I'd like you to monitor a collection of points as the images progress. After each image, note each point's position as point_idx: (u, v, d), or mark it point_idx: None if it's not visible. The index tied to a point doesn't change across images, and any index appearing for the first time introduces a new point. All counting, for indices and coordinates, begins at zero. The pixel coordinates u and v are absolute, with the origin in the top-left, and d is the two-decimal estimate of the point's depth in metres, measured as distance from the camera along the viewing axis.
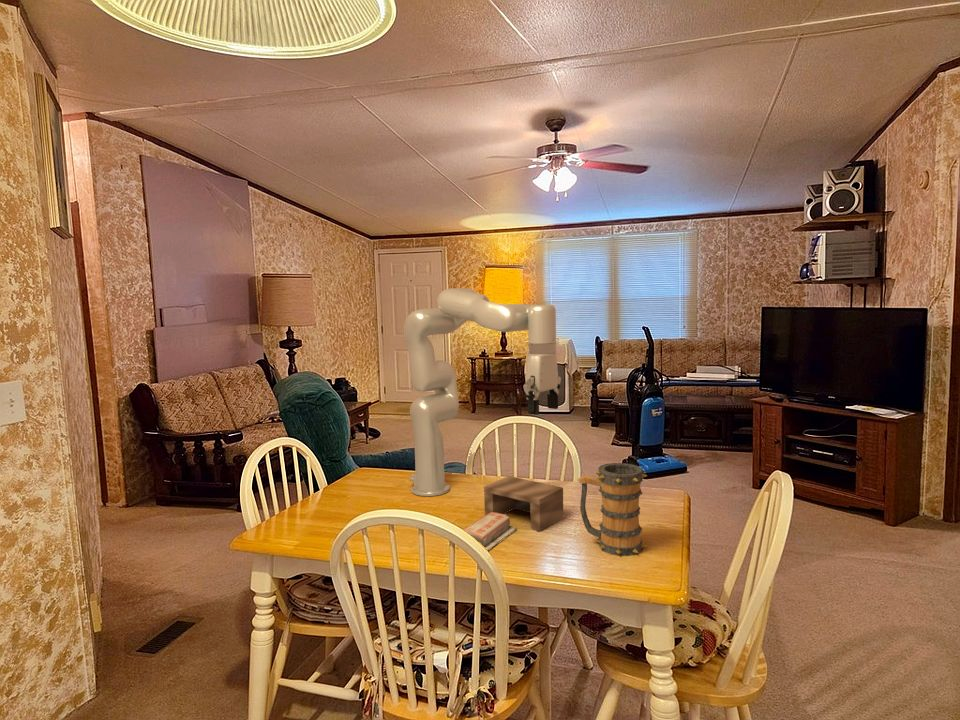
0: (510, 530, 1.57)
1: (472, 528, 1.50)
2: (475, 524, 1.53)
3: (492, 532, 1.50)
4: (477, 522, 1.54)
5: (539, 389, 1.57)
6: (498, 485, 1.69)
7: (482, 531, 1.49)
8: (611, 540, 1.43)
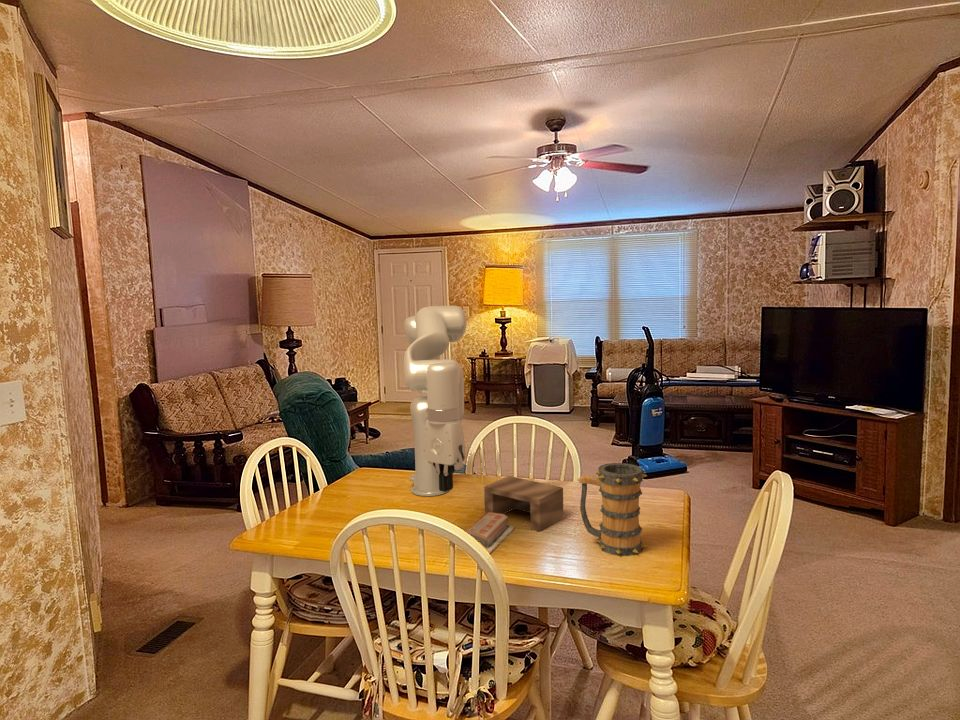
0: (509, 529, 1.58)
1: (474, 529, 1.50)
2: (476, 525, 1.52)
3: (494, 532, 1.50)
4: (477, 523, 1.54)
5: None
6: (498, 485, 1.69)
7: (485, 531, 1.49)
8: (611, 540, 1.43)
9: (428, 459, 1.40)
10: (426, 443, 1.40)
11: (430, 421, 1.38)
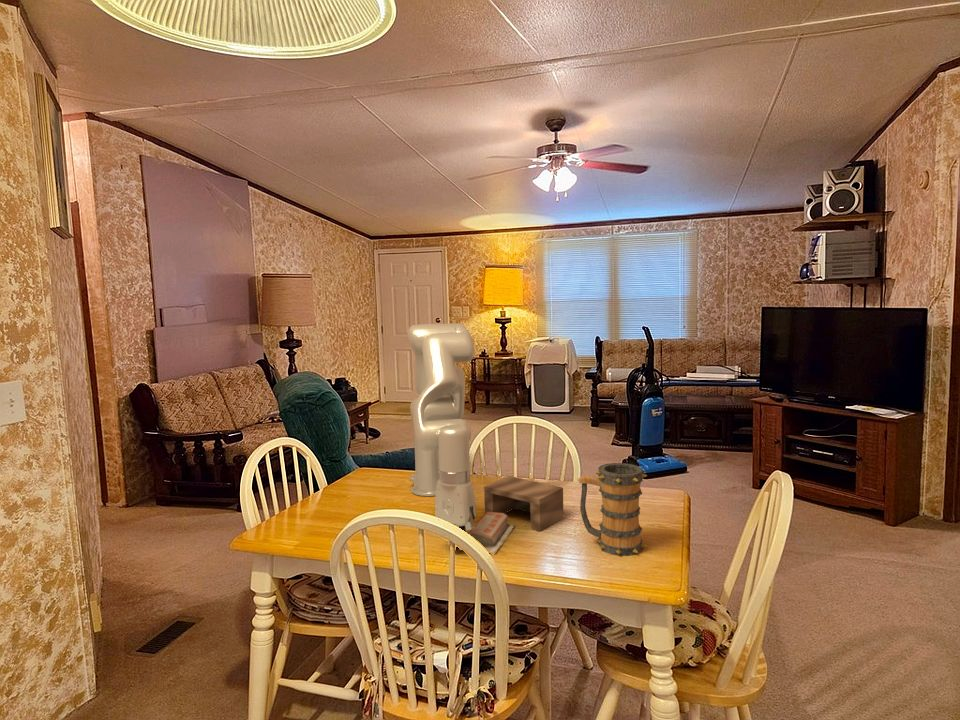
0: (509, 528, 1.58)
1: (478, 529, 1.49)
2: (479, 524, 1.52)
3: (498, 531, 1.51)
4: (480, 522, 1.54)
5: None
6: (498, 485, 1.69)
7: (489, 531, 1.49)
8: (611, 540, 1.43)
9: None
10: (438, 503, 1.45)
11: (442, 483, 1.42)
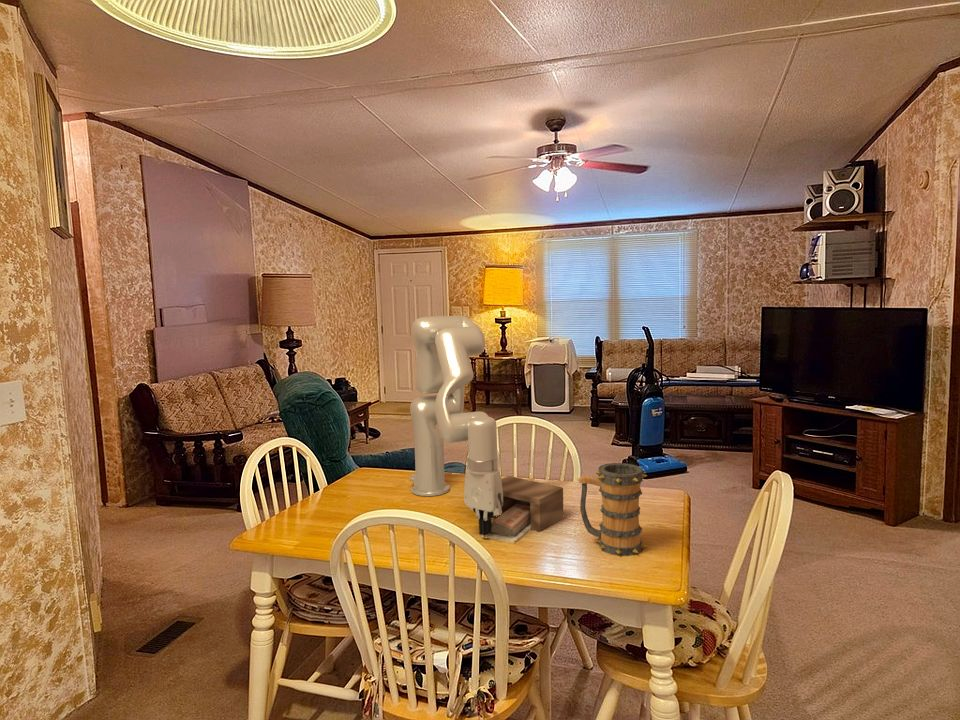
0: None
1: (501, 519, 1.56)
2: (503, 515, 1.59)
3: (520, 522, 1.56)
4: (505, 513, 1.60)
5: None
6: None
7: (511, 521, 1.55)
8: (611, 540, 1.43)
9: (469, 505, 1.53)
10: (467, 490, 1.53)
11: (471, 471, 1.50)
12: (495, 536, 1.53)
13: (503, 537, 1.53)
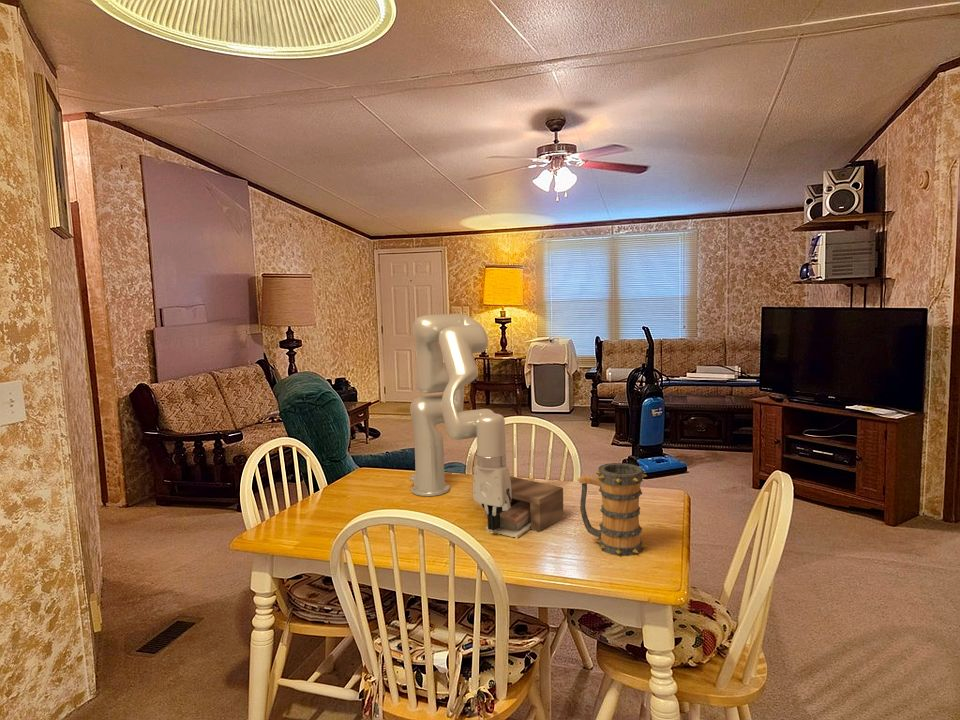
0: None
1: (506, 513, 1.59)
2: (508, 510, 1.62)
3: (525, 517, 1.59)
4: None
5: None
6: None
7: (515, 516, 1.58)
8: (611, 540, 1.43)
9: (478, 501, 1.55)
10: (476, 486, 1.55)
11: (480, 467, 1.52)
12: (499, 530, 1.56)
13: (507, 531, 1.56)
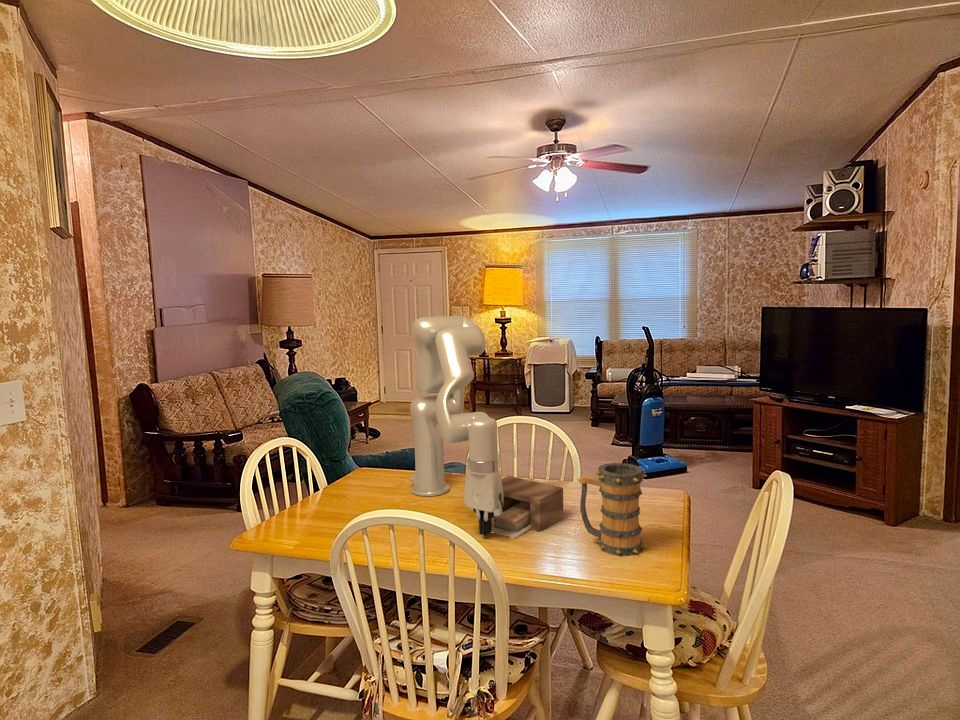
0: None
1: (506, 514, 1.59)
2: (509, 510, 1.62)
3: (525, 518, 1.59)
4: (511, 509, 1.63)
5: None
6: None
7: (515, 517, 1.58)
8: (611, 540, 1.43)
9: (469, 505, 1.53)
10: (467, 491, 1.53)
11: (472, 471, 1.50)
12: (498, 530, 1.57)
13: (506, 532, 1.56)
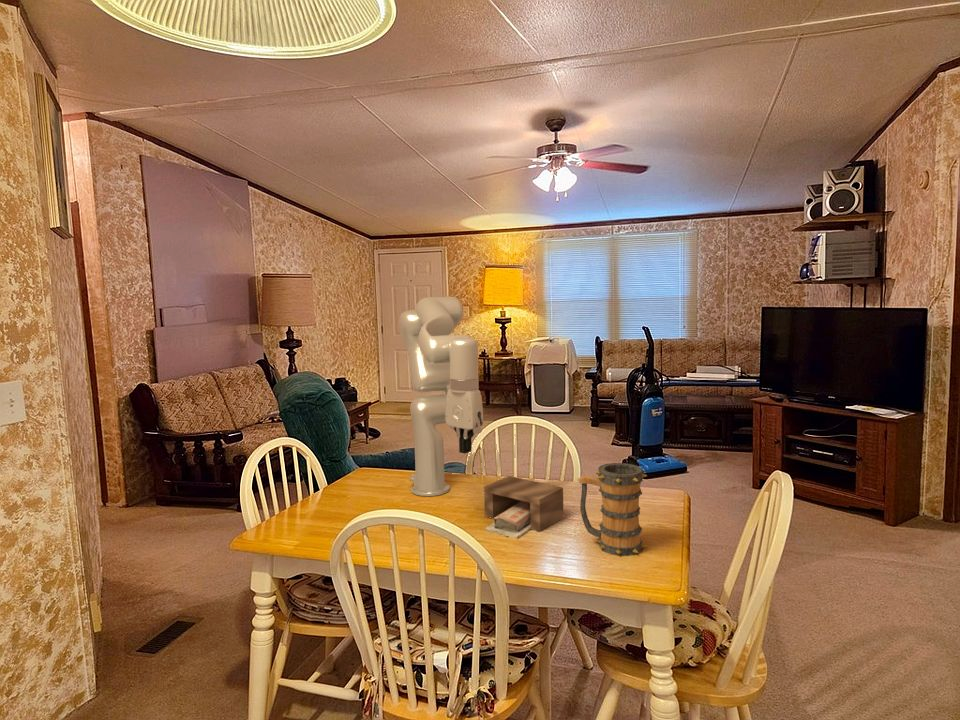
0: None
1: (506, 514, 1.59)
2: (508, 510, 1.62)
3: (525, 518, 1.59)
4: (510, 509, 1.63)
5: None
6: (498, 485, 1.69)
7: (515, 517, 1.58)
8: (611, 540, 1.43)
9: (450, 424, 1.56)
10: (448, 410, 1.56)
11: (452, 390, 1.53)
12: (499, 531, 1.56)
13: (507, 532, 1.56)
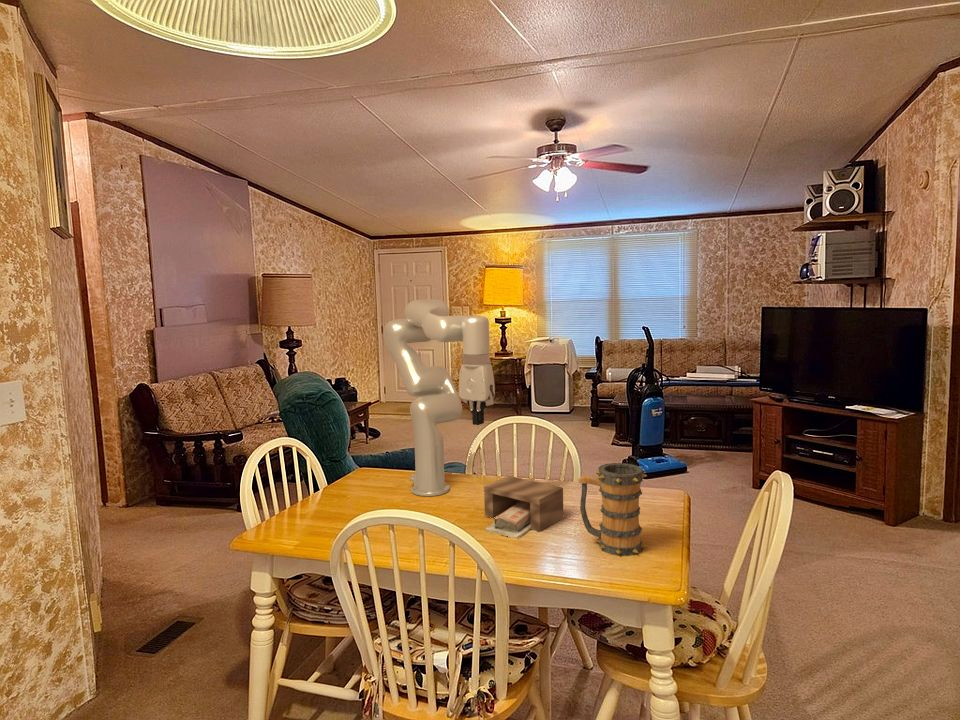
0: None
1: (506, 514, 1.59)
2: (508, 511, 1.62)
3: (525, 518, 1.59)
4: (510, 509, 1.63)
5: None
6: (498, 485, 1.69)
7: (515, 517, 1.58)
8: (611, 540, 1.43)
9: (463, 397, 1.66)
10: (461, 384, 1.66)
11: (465, 364, 1.63)
12: (499, 531, 1.56)
13: (508, 532, 1.55)
